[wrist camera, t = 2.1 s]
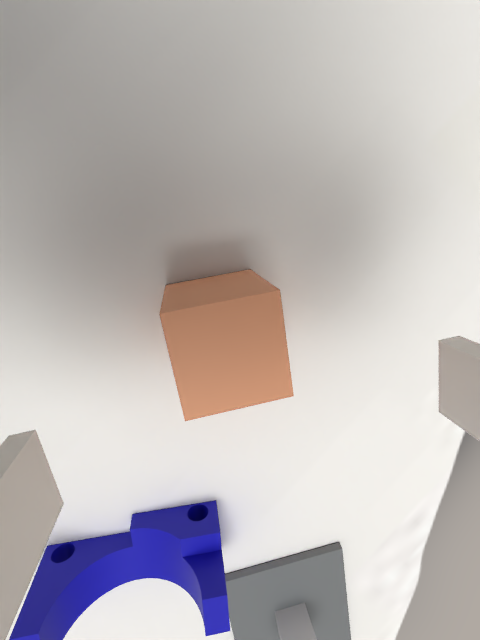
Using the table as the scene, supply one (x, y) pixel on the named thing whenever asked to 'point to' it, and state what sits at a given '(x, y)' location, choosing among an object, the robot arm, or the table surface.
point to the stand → (291, 598)
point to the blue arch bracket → (130, 570)
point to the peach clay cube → (226, 342)
